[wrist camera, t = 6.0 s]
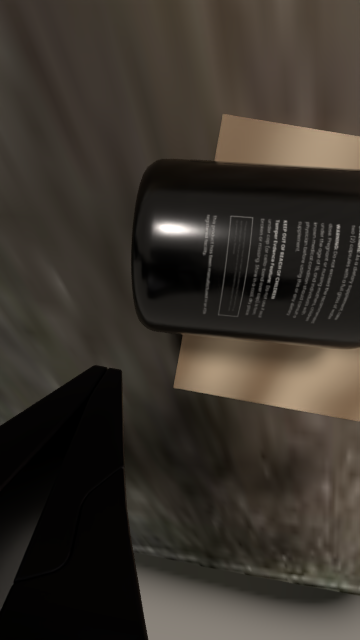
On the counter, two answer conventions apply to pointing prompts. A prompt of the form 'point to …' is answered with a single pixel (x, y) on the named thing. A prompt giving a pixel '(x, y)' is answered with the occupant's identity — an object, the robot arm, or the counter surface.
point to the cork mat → (270, 358)
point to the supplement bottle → (248, 252)
